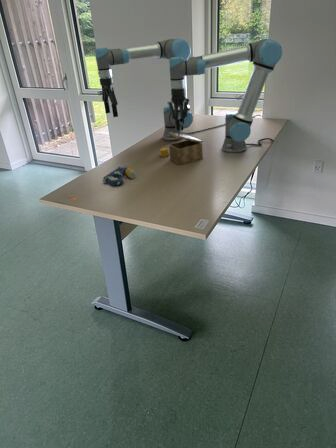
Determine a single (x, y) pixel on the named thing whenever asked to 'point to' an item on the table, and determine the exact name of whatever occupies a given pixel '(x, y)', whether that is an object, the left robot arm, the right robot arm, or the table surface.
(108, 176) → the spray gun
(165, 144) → the table surface
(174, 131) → the lid
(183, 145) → the chest
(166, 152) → the block
